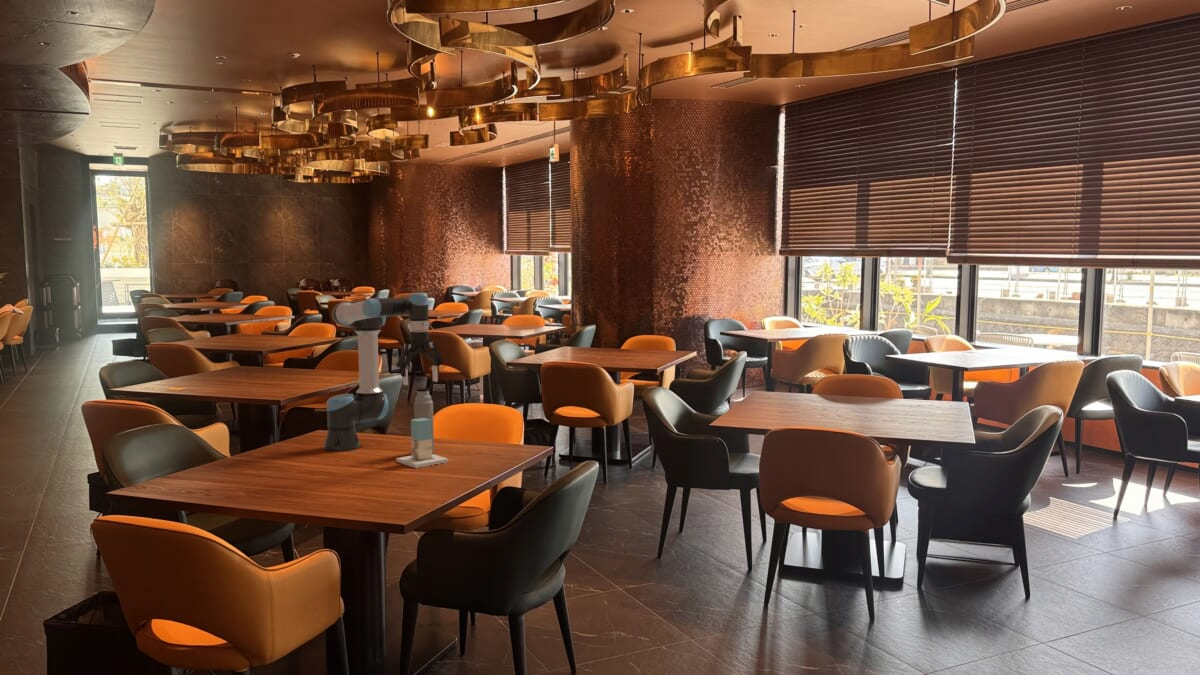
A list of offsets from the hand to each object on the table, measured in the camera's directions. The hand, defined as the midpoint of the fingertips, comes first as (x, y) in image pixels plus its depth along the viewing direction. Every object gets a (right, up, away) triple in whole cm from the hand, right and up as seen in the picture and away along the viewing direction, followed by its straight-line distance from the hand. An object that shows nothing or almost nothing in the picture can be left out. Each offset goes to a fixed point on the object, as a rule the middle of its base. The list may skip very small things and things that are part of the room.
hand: (420, 383), depth 366 cm
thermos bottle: (-2, -31, +20) cm, 37 cm away
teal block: (0, -23, +2) cm, 23 cm away
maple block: (0, -31, +3) cm, 31 cm away
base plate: (0, -33, +3) cm, 33 cm away
